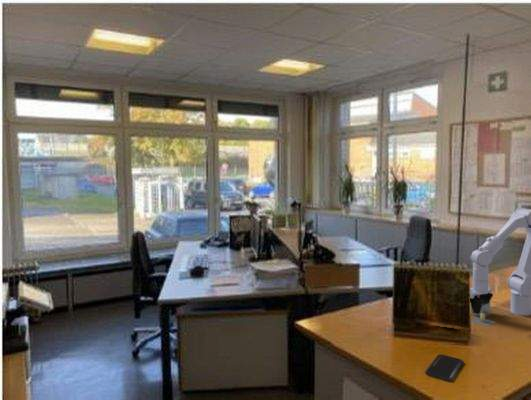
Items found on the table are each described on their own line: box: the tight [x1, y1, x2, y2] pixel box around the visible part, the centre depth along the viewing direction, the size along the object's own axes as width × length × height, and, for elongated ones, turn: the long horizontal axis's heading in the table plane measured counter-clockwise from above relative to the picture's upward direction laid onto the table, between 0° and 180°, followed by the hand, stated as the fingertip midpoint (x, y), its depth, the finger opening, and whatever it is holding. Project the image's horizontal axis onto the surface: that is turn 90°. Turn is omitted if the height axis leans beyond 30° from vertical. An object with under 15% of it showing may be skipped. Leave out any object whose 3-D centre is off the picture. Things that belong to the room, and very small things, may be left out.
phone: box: [424, 353, 465, 383], centre depth 128 cm, size 8×1×15 cm
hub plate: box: [470, 313, 496, 327], centre depth 161 cm, size 7×7×4 cm
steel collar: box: [470, 300, 491, 317], centre depth 169 cm, size 5×5×5 cm
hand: (479, 311), depth 169 cm, fingers closed on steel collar, 5 cm apart
